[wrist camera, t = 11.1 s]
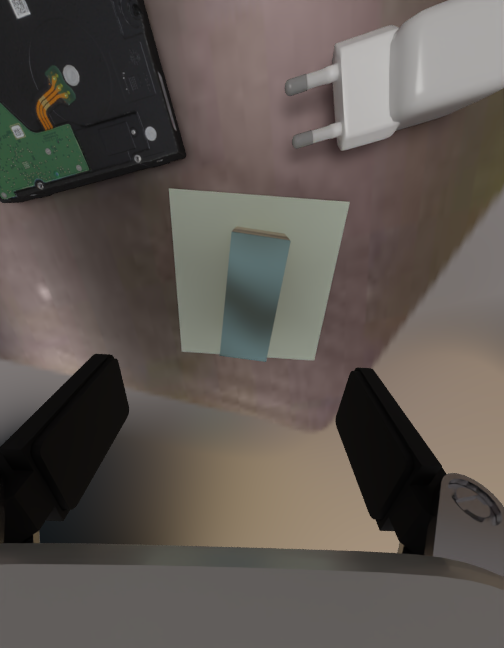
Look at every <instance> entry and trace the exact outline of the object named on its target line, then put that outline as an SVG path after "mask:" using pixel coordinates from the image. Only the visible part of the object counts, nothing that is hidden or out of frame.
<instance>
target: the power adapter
mask: <svg viewBox="0 0 504 648" xmlns="http://www.w3.org/2000/svg"><path fill="white" fill-rule="evenodd" d="M330 83H333V98H334V112H335V123H333V124H330V125H329V126H326V127H322V128H319V129H316V130H313V131H312V130H310V131H307V132H304V133H300V134H297V135H295V136H294V137H293V139H292V145H293V147H294V148H295V149H298V148H301V147H305V146H308V145H311V144H313V143H316V142H319V141H323V140H326V139H332V138H335V137H337V145H338V147H339V148H340V150H341V151H344V150H348V149H352V148H355V147H359V146H362V145H366V144H369V143H373V142H376V141H380V140H383V139H386V138H389V137H390V136H391V135H393V133H394V132H395V131H397V130H400V129H404V128H407V127H410V126H414V125H417V124H421V123H424V122H427V121H431V120H434V119H437V118H440V117H443V116H445V115H448V114H450V113H453V112H455V111H457V110H459V109H462V108H464V107H466V106H468V105H470V104H472V103H475V102H477V101H479V100H481V99H483V98H485V97H487V96H489V95H491V94H493V93H495V92H497V91H499V90H501V89H503V88H504V0H448V1H446V2H443V3H440V4H438V5H435V6H433V7H430V8H428V9H425V10H423V11H421V12H419V13H418V14H416V15H415V16H413V17H412V18H410V19H409V20H407V21H406V22H404V23H403V25H402V26H401V27H400V28H399V27H397V26H394V25H390V26H386V27H382V28H380V29H377V30H374V31H371V32H368V33H365V34H362V35H359V36H356V37H353V38H351V39H348V40H345V41H342V42H339V43H336V44H335V46H334V52H333V59H332V65H330V66H327V67H325V68H324V69H321V70H318V71H315V72H312V73H309V74H304V75H301V76H298V77H295V78H292V79H289V80H287V81H286V83H285V93H286V94H287V95H288V96H292V95H295V94H298V93H301V92H305V91H307V90H308V89H311V88H315V87H318V86H321V85H324V84H325V85H326V84H330Z"/></svg>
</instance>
